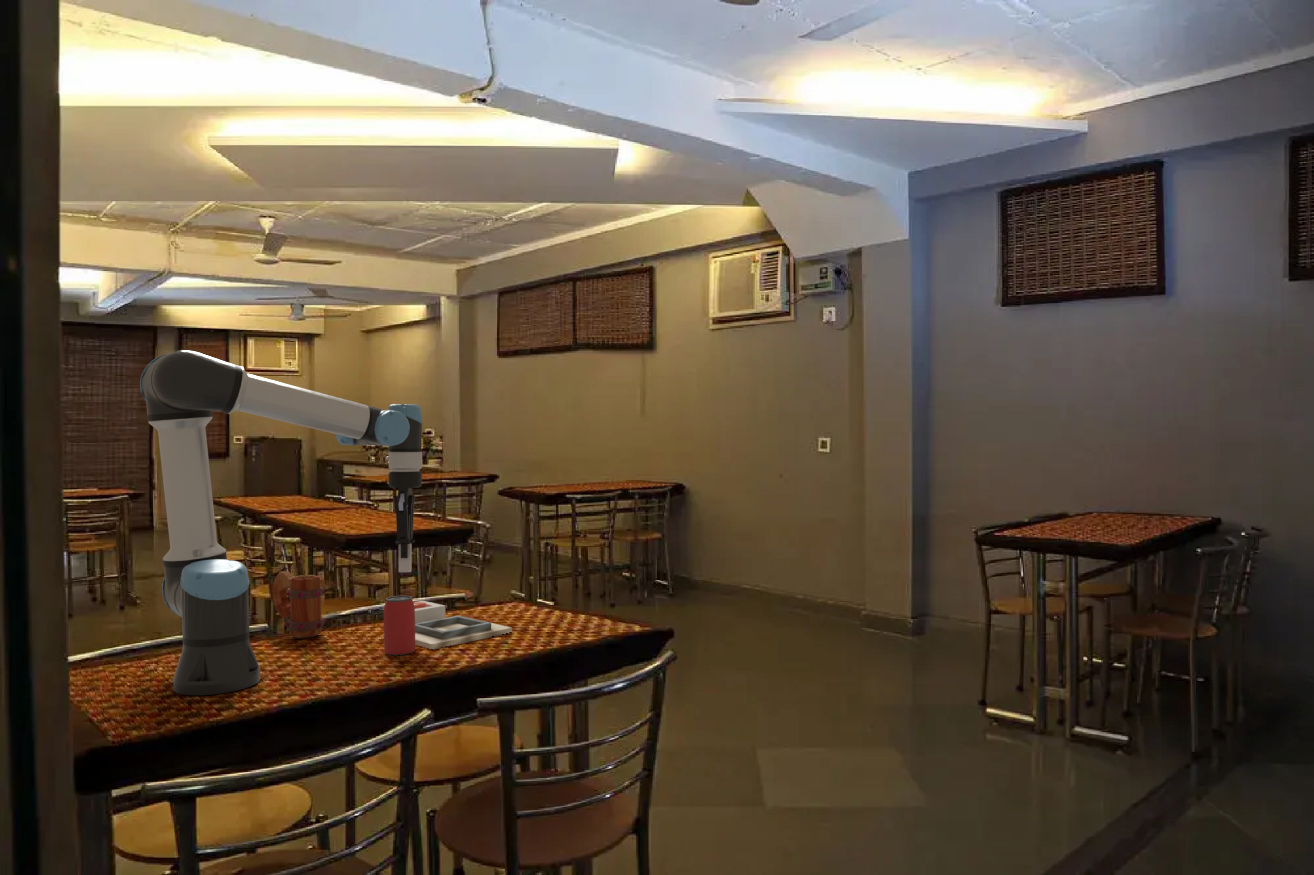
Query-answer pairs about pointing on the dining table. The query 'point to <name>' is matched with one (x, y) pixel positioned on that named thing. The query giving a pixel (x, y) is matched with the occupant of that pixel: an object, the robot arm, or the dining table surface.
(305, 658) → the dining table surface
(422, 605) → the button
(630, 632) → the dining table surface
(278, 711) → the dining table surface
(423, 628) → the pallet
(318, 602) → the mug
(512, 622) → the dining table surface
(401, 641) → the beer can
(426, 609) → the button box
